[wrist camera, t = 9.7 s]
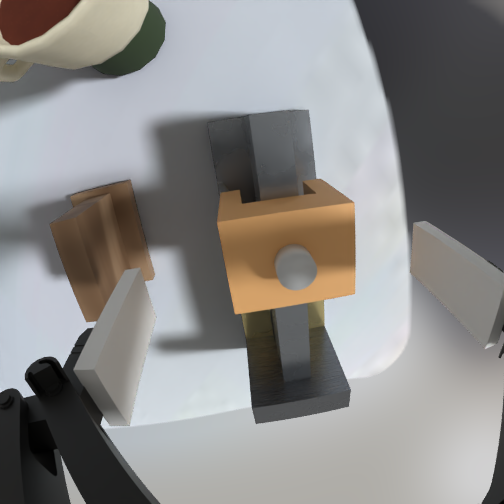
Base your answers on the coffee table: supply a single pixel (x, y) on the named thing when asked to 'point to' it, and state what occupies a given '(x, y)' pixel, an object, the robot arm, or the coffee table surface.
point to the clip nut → (288, 247)
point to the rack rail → (290, 317)
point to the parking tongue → (101, 244)
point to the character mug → (79, 35)
